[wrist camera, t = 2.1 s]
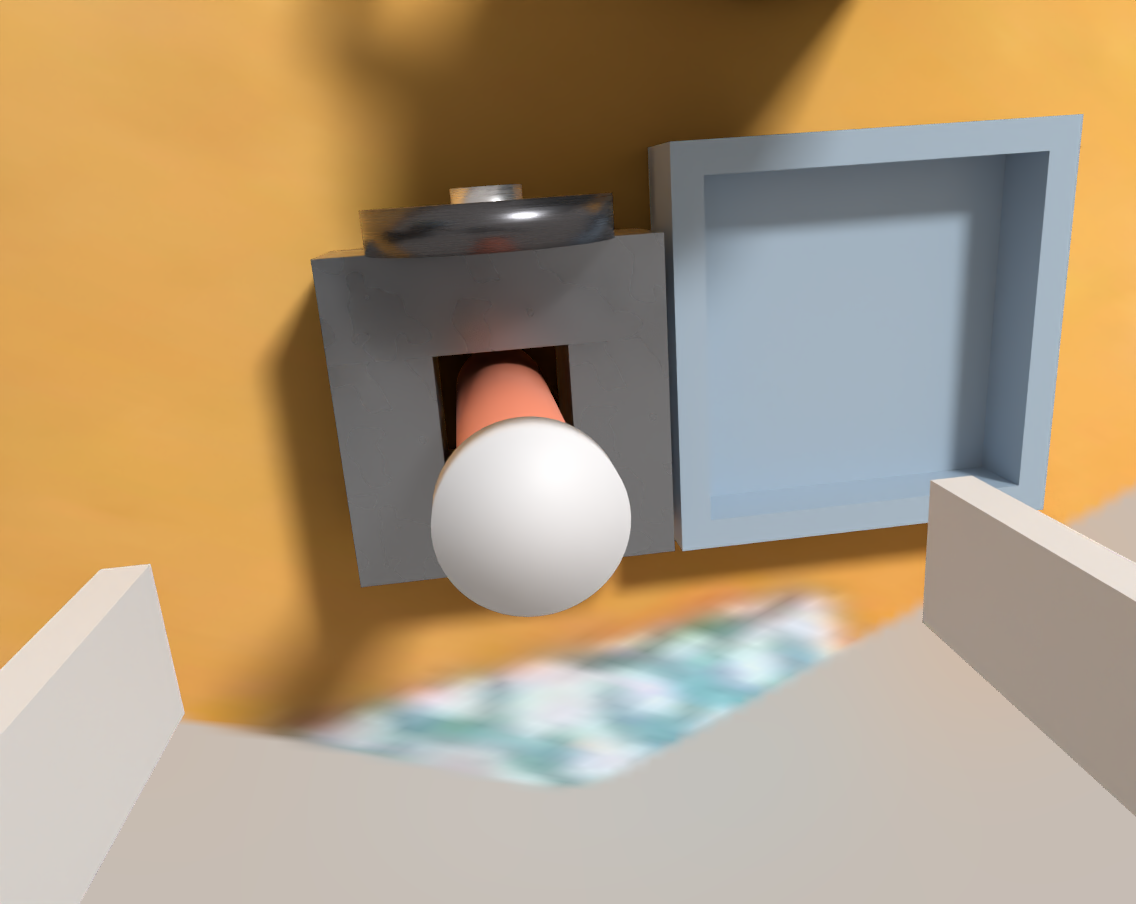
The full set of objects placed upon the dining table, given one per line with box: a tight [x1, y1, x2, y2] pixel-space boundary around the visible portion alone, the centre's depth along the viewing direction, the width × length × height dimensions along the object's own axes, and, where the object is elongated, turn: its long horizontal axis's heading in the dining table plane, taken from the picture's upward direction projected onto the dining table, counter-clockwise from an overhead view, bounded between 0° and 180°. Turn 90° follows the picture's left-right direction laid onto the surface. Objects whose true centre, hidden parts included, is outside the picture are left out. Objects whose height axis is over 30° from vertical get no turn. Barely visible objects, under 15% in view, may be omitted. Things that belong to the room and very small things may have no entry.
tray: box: [648, 114, 1083, 551], centre depth 29 cm, size 13×13×3 cm
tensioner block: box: [311, 184, 675, 587], centre depth 25 cm, size 10×12×8 cm
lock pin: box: [431, 349, 631, 617], centre depth 23 cm, size 4×4×13 cm
